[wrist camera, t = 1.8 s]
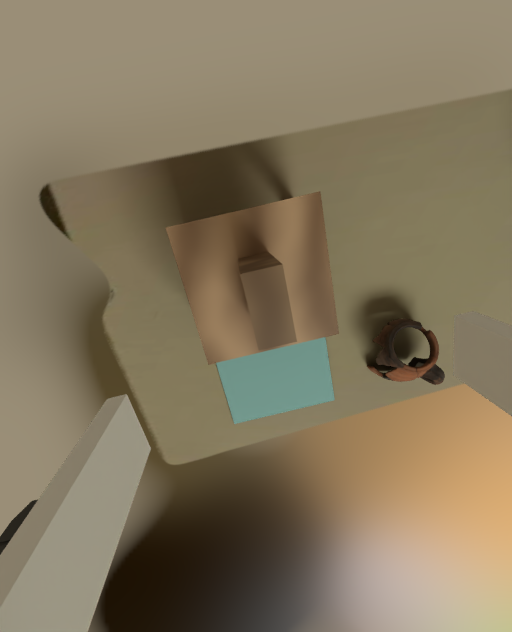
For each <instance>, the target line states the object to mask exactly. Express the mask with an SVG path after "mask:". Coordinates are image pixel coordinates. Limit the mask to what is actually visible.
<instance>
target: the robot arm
mask: <svg viewBox="0 0 512 632" xmlns="http://www.w3.org/2000/svg"><path fill="white" fill-rule="evenodd" d="M453 376H455V377H456V378H458V379H459V380H461V381H462V382H463V383H465V384H466V385H468V386H469V387H471V388H472V389H474V390H475V391H476V392H478V393H479V394H481V395H482V396H484V397H485V398H486V399H488V400H489V401H491V402H492V403H494V404H495V405H497V406H498V407H499V408H501V409H502V410H504V411H505V412H507V413H508V414H509V415H511V416H512V325H509V324H506V323H504V322H501V321H498V320H496V319H493V318H490V317H488V316H485V315H482V314H480V313H477V312H474V311H472V312H467V313H463V314H459V315H455V316H454V361H453ZM150 450H151V448H150V446H149V443H148V441H147V439H146V437H145V434H144V432H143V430H142V428H141V426H140V423H139V421H138V419H137V417H136V414H135V412H134V410H133V407H132V405H131V403H130V401H129V398H128V396H127V394H125V395H121V396H117V397H114V398H109V399H107V400H106V402H105V403H104V404H103V406H102V407H101V409H100V410H99V412H98V413H97V415H96V416H95V418H94V419H93V421H92V422H91V423H90V425H89V426H88V428H87V429H86V431H85V432H84V434H83V435H82V437H81V438H80V440H79V441H78V442H77V444H76V445H75V447H74V448H73V450H72V451H71V453H70V454H69V455H68V457H67V458H66V460H65V461H64V463H63V464H62V466H61V468H60V469H59V470H58V472H57V473H56V474H55V476H54V478H53V479H52V480H51V482H50V483H49V485H48V486H47V488H46V489H45V491H44V492H43V493H42V495H41V496H40V498H39V499H38V500H34V501H32V502H30V503H29V505H27V507H25V508H24V509H23V510H22V512H20V513H19V514H18V515H17V516H16V517H15V518H14V519H13V520H12V521H11V523H10V524H9V525H8V527H7V528H6V529H5V531H4V532H3V534H2V535H1V536H0V632H88V629H89V626H90V623H91V620H92V617H93V614H94V612H95V609H96V605H97V603H98V600H99V597H100V594H101V591H102V588H103V586H104V583H105V579H106V577H107V574H108V571H109V568H110V565H111V562H112V559H113V557H114V554H115V551H116V548H117V545H118V542H119V539H120V536H121V533H122V530H123V528H124V525H125V522H126V519H127V516H128V513H129V510H130V507H131V505H132V502H133V499H134V496H135V493H136V490H137V487H138V484H139V481H140V478H141V475H142V473H143V469H144V467H145V464H146V461H147V458H148V455H149V452H150Z"/></svg>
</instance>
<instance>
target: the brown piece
mask: <svg viewBox="0 0 512 632" xmlns="http://www.w3.org/2000/svg"><path fill="white" fill-rule="evenodd" d="M166 231H167V234H168V237H169V240H170V243H171V247H172V250H173V253H174V256H175V259H176V262H177V266H178V269H179V272H180V275H181V278H182V282H183V285H184V288H185V291H186V294H187V297H188V301H189V304H190V307H191V310H192V313H193V317H194V320H195V323H196V326H197V329H198V333H199V336H200V339H201V342H202V345H203V348H204V352H205V355H206V358H207V361H208V364H214V363H218V362H222V361H226V360H230V359H235V358H239V357H243V356H247V355H252V354H256V353H260V352H264V351H268V350H273V349H277V348H281V347H285V346H290V345H294V344H298V343H302V342H307V341H311V340H315V339H319V338H323V337H328V336H332V335H336V334H339V331H338V323H337V316H336V308H335V300H334V293H333V285H332V277H331V270H330V262H329V255H328V247H327V239H326V232H325V224H324V216H323V209H322V201H321V193H320V192H316V193H311V194H307V195H303V196H299V197H294V198H290V199H286V200H281V201H277V202H273V203H269V204H264V205H260V206H256V207H251V208H247V209H243V210H239V211H234V212H230V213H226V214H222V215H217V216H213V217H209V218H204V219H200V220H196V221H192V222H187V223H183V224H179V225H174V226H170V227H166Z"/></svg>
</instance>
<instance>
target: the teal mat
mask: <svg viewBox="0 0 512 632" xmlns="http://www.w3.org/2000/svg"><path fill="white" fill-rule="evenodd" d="M216 365H217V368H218V371H219V374H220V378H221V381H222V384H223V388H224V391H225V394H226V398H227V401H228V404H229V407H230V411H231V414H232V417H233V421H234V424H236V423H241V422H245V421H249V420H253V419H257V418H262V417H266V416H270V415H274V414H278V413H283V412H287V411H291V410H295V409H299V408H304V407H308V406H312V405H316V404H320V403H325V402H329V401H333V400H334V393H333V386H332V379H331V373H330V366H329V359H328V353H327V346H326V339H325V337H323V338H319V339H315V340H311V341H307V342H302V343H298V344H294V345H290V346H285V347H281V348H277V349H273V350H268V351H264V352H260V353H256V354H252V355H247V356H243V357H239V358H235V359H230V360H226V361H222V362H218V363H216Z"/></svg>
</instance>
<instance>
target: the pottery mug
mask: <svg viewBox="0 0 512 632" xmlns="http://www.w3.org/2000/svg"><path fill="white" fill-rule="evenodd" d="M405 327H413V328H415V329H419V330H420V331H421V332H423V334H424V335H425V336H426V338H427V340H428V342H429V345H430V356H429V358H428V359H421V358H416V357H414V358H413V359H412V360H411V362H410V363H409V364H408V365H406V364H403V363H402V362H401V361H400V360H399V359H398V357H397V356H396V353H395V351H394V347H393V342H394V338H395V335H396V334H397V332H398V331H399V330H401V329H403V328H405ZM373 342H376V343H377V344H379V345H381V346H382V347H384V349H382V350H381V351H380V352H379V354H378V357H377V358H376V362H377V364H378V365H386V366H392V367H396V368H395V369H393V370H391V371H388V372H387V373H382V372H379V371H378V370H377V369H376V368H375V367H372V366H370V365H368V366H367V367H368V368H369V369H370V370H371V371H372V372H374V373H376V374H377V375H378V376H381V377H383V378H385V379H388V380H392V381H400V382H402V381H410V380H414V379H416V378H419V377H421V378H422V379H424V380H425V381H427V382H429V383H432V384H434V385H436V384H440V383H442V382H443V380H444V378H445V375H444V372H443V371H442V369H441V368H439V367H438V366H437V365H436V364H435V363H436V361H437V359H438V354H439V346H438V342H437V339H436V337H435V335H434V334H433V332H432V331H430V330H429V331H426V330H425V329H424V328H423V327H422V325H421V323H420V322H416V321H412V320H410V319H396V320H393V321H391V322H389V323H388V325H386V326H384V328H383V329H382V331H381V333H380V334H379V335H378V336H377V337H376V338H375V339H374V340H373Z"/></svg>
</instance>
